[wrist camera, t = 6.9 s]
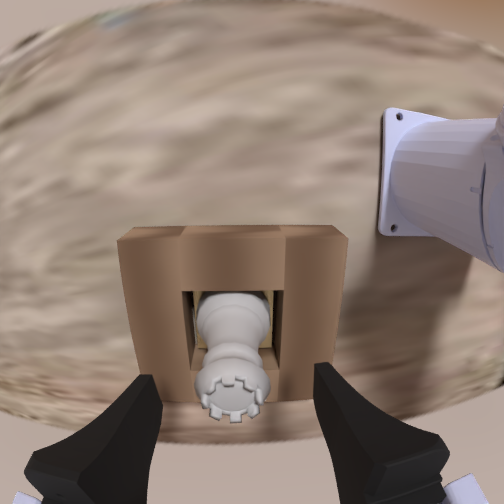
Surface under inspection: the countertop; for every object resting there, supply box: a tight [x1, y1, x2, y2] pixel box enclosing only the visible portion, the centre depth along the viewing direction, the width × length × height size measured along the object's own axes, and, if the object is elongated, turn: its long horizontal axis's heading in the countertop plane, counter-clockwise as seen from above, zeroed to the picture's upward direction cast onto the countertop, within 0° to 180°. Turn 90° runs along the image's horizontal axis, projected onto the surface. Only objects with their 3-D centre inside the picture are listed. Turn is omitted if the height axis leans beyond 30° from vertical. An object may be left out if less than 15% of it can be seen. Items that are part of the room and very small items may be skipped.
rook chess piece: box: [194, 291, 271, 423], centre depth 15 cm, size 4×4×8 cm
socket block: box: [117, 225, 348, 403], centre depth 19 cm, size 12×11×3 cm
